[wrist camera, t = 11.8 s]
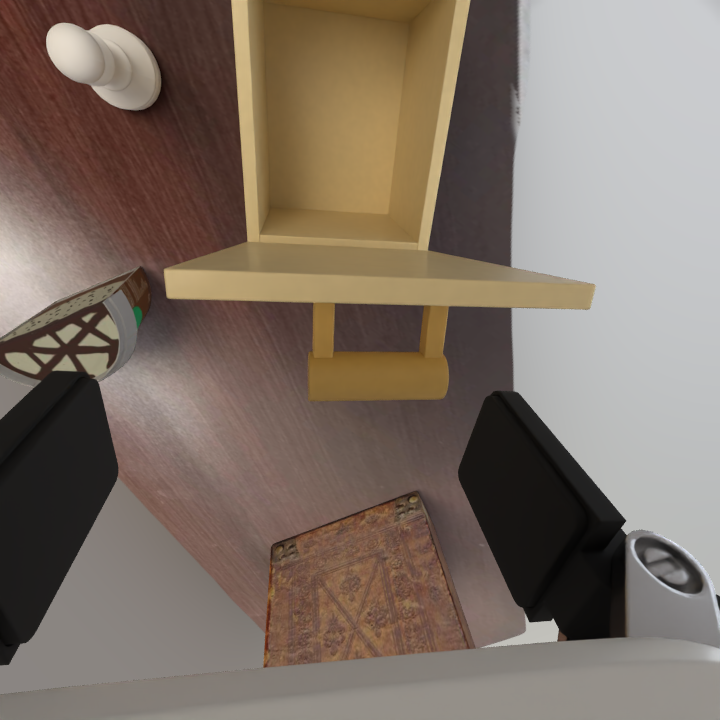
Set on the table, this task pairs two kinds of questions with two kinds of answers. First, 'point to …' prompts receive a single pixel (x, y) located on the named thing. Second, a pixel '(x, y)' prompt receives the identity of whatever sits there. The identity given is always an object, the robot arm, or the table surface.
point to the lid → (370, 286)
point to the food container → (79, 332)
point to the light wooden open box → (345, 117)
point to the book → (363, 590)
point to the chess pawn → (107, 63)
